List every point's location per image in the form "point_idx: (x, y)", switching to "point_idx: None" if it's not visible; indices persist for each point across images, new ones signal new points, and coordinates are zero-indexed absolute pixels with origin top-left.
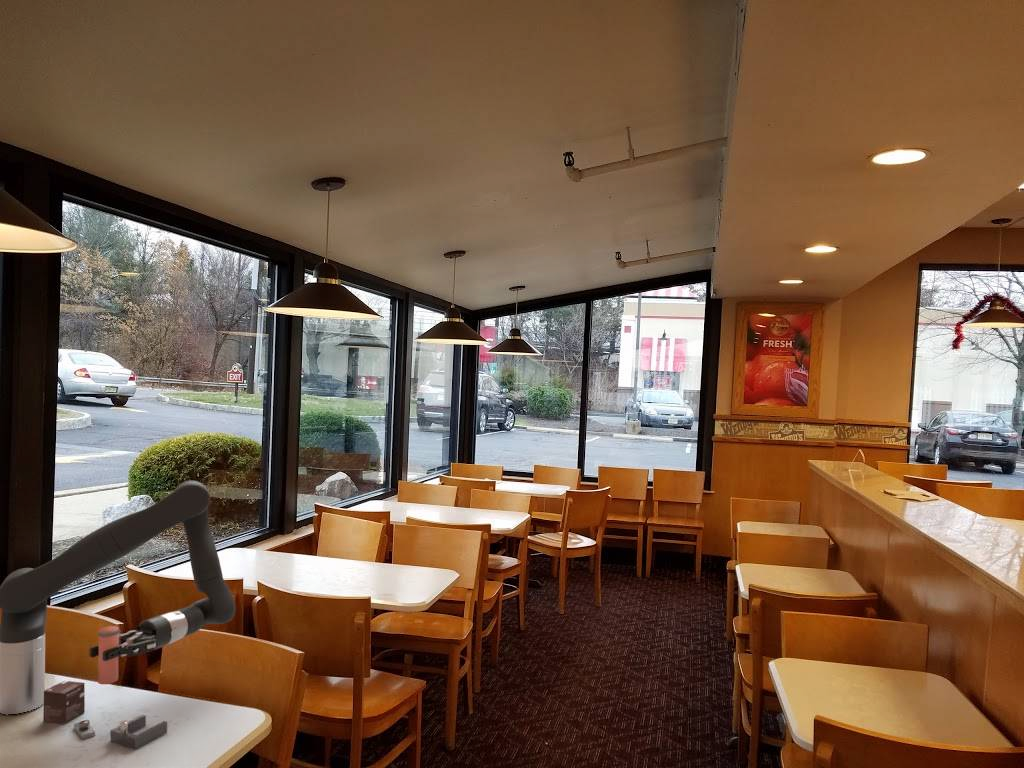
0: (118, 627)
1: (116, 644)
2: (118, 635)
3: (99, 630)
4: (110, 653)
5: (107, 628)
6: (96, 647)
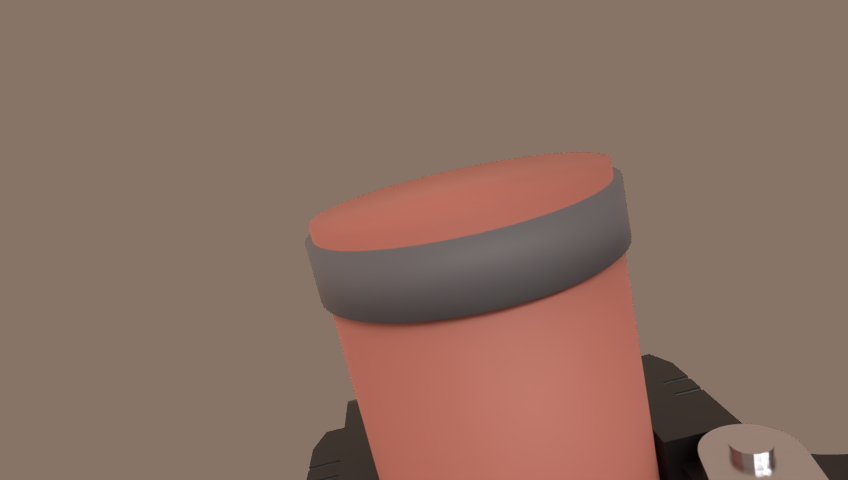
0: (371, 229)
1: (381, 471)
2: (382, 375)
3: (504, 161)
4: (319, 452)
5: (496, 178)
6: None
